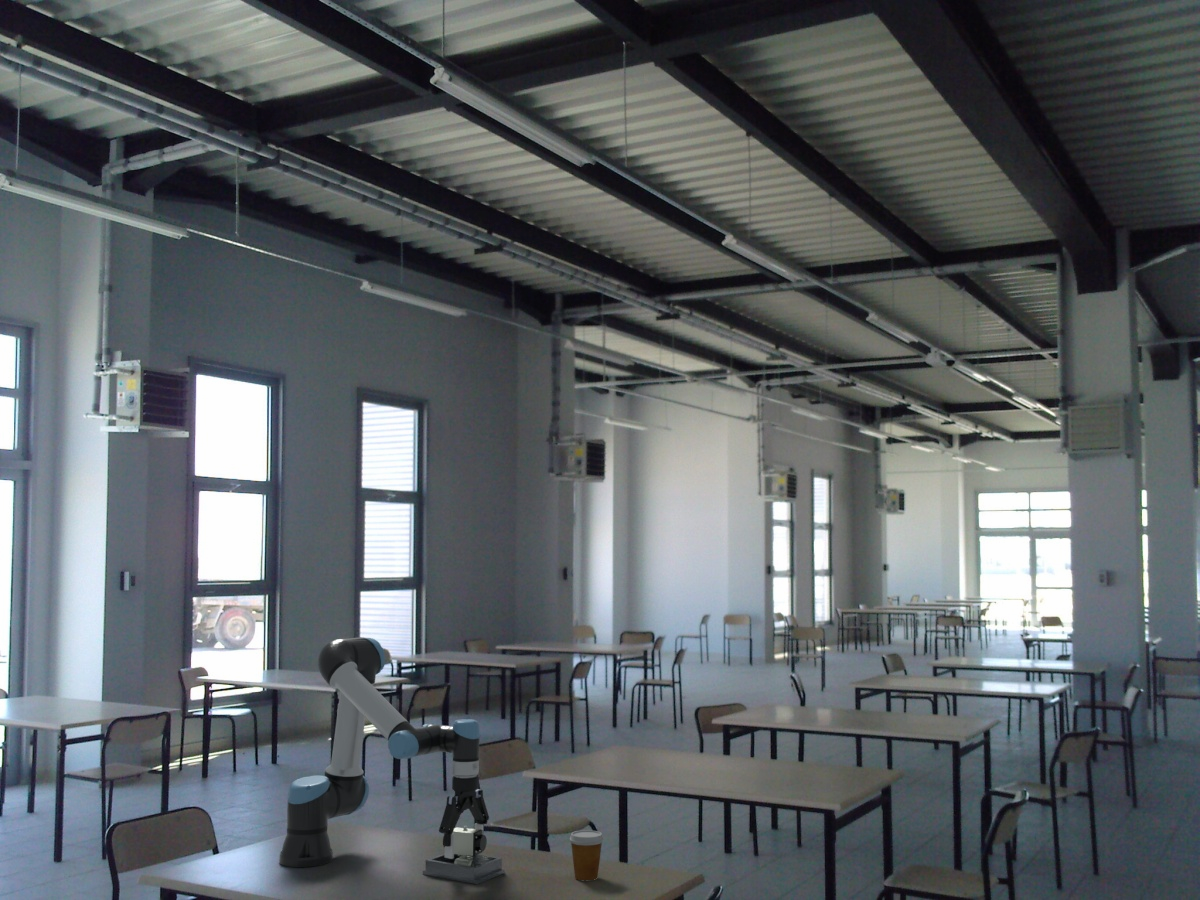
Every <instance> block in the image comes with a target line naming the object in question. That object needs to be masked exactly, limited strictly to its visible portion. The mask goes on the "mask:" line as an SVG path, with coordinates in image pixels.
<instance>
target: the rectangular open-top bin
mask: <svg viewBox="0 0 1200 900" xmlns="http://www.w3.org/2000/svg"><path fill="white" fill-rule="evenodd" d="M444 856H445V853H442V854H440V855H436V856H434V857H431V858H429V859H425V869H423V870H422V875H423V876H428V877H429V876H430V877H434V878H440V879H445V880H446V879H447V880H452V881H458V882H463V883H468V884H475V885H479V884H481V883H484V882H486V881H489V880H491V879H493V878H496V877H498V876H501V875H503V874H505V869H504V868H503V867H502V866H503V863H502V862H503V858H502V857H499V856H498V857H497V856H493V855H486V854H482V853H480V854H478V855H476V856H469V857H472V858H473V861H474V867H470V866H464V865H458V864H454V862H455V859H457V858H459V857H460V856H462V855H460V856H458V854H454V858H453V859H450V858H444Z"/></svg>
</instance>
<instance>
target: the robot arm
mask: <svg viewBox="0 0 1200 900" xmlns="http://www.w3.org/2000/svg"><path fill="white" fill-rule="evenodd" d="M385 664H386V653H385V650H384V647H382V645H381V643H380V642H379V641H378V640H376V639H375V638H372V637H362V636H359V637H351V638H337V639H332V640H331V641H328V642H327V643H326V644H324V645H323V647H322V648H321V650H320V651H319V653H318V657H317V667H318V671H319V674H320V675H321V677H322V678H323V680H324V681H325V682H326V683H327V684H328V685H329V686H330V688H331V689H333V690H339V699H338V706H337V716H336V721H335V730H334V737H333V738H334V739H333V745H332V746H333V747H332V753H331V754H332V755H331V763H330V764H329V765H328V766H327V767H326V768H325V769H324V775H316V774H315V775H310V776H304V777H300V778H298V779H295V780H294V781H292V782H291V783H290V785H289V786H288V795H287V799H286V800H287V812H286V813H287V814H286V815H287V816H286V817H287V819H286V835H285V839H284V841H283V845H282V849H281V851H280V854H279V864H280V865H281V866H285V867H291V868H310V867H316V866H322V865H326V864H328V863H330V862H332V861H333V856H334V855H333V854H334V853H333V852H334V851H333V849H332V847H331V842H330V838H329V833H328V824H329V823H328V821H329V820H331V819H334V818H339V817H342V816H348V815H350V814H353V813H355V812H358V811H359V810H361V809H362V808H363V807H364V806H365V804H366V803H367V800H368V798H369V796H370V795H369V793H370V786H369V783H367V781H368V780H367V778H366V777H365V775H364V770H363V768H362V767H361V765H360V764H361V763H360V762H361V755H362V746H363V740H364V733H365V732H364V731H365V724H366V720H368V721H369V723H370V724H371V725H373V727H374V728H375V729H376V730H377V731H378V732H379V733H380V734H381V735H382V736H383V737H384V738H385V739H386V740H387V748H388V750H389V754H390V755H391V756H392V757H393V758H395V759H397V760H402V759H404V760H405V759H411V758H412V759H413V758H415V757H420V756H423V755H424V756H425V755H428V754H433V753H439V752H440V753H451V754H452V768H451V771H452V772H451V774H452V775H453V776H452V779H451V789H452V791H454V796H450V795H448V796H447V797H446V805H445V808H444V812H443V815H442V819H441V822H440V825H439V828H438V832H439V833H441V834H443V837H444V846H445V847H444V846H443V847H444V854H445V856H444V858H450V859H453V858H454V834H452V833H453V830H454V828H455V827H456V826H457V823H458V821H459V819H460V817H461V815H462V814H463V813H464V811H467V810H468V809H469V811H470V813H471V816H472V817H473V819H474V820H475V822H476V823H474V824H473V825H474V826H473V827H474V828H473V829H480V830H483V835H485V834H484V833H485V825H487V824H488V821H489V820H490V816H489V813H488V809H487V805H486V803H485V799H484V790H483V789H480V788H479V782H480V778H479V775H478V774H479V771H480V770H479V769H480V767H479V766H480V764H479V763H480V756H479V755H480V737H481V734H480V733H481V732H480V723H479V721H478V720H476V719H471V718H470V719H468V718H464V719H456V720H454V722H453V725H444V724H437V723H425V724H423V725H421V727H417V728H416V727H414V726H413V725H412V724H411V723H410V722H409V721H408V720H407V718H405V717H404V716H403V715H402V714H401V712H399V711H398V710H397V709H396V708H395V707H394V706H393V705H392V704H391V703H390V702H389V701H388V699H386V698H385V696H383V695H382V694H381V692H380V691H378V689H376V687H375V686H374V685H375V684H376V677H377V675H378V674H380V673H381V672H382V670H383V669H384V668H385Z"/></svg>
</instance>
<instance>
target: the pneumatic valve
mask: <svg viewBox="0 0 1200 900" xmlns="http://www.w3.org/2000/svg"><path fill="white" fill-rule="evenodd" d="M452 834H454V854H458V856H460V855H462V856H460V857H459V858H457V859H455V862H454V864H458V865H464V866H470V867H474V861H473V858H472V857H469V856H476V855H478V854H482V853H483V852H485V850H486V847H487V842H488V841H487V836H486V835H485V834H483V830H480V829H474V828H468V826H467V825H463V827H456V826H455V828H454V830H453V833H452ZM442 846H443V848H445V846H444V836H443V837H442Z"/></svg>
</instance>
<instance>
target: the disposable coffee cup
mask: <svg viewBox="0 0 1200 900" xmlns="http://www.w3.org/2000/svg"><path fill="white" fill-rule="evenodd" d="M569 841H570V843H571V844H570V845H571V852H572V860H573V861H572V862H573V871H574V872H573V874H574V879H575V878H576V879H578V880H577V881H579V880H593V881H595V880H594V879H596V878H597V877H598V876H599V869H600V861H601V851H602V844H603V841H604V836H603V833H602V832H601V831H597V830H592V829H591V830H588V829H583V830H582V829H581V830H576V831H573V832H571V833H570V837H569ZM576 879H575V880H576ZM597 879H598V878H597ZM597 879H596V880H597Z"/></svg>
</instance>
